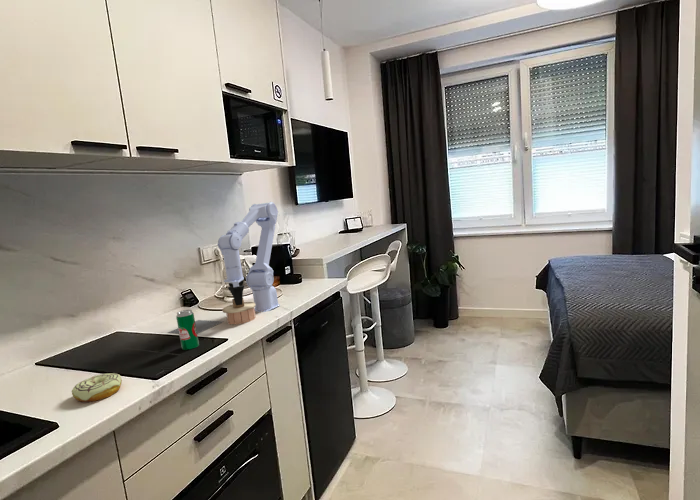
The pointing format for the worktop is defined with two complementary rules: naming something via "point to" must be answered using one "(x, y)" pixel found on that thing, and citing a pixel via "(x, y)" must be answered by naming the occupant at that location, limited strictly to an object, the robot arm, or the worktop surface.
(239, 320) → the bowl
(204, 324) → the mat
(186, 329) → the soda can
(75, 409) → the worktop surface
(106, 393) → the decorated donut
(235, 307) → the lid
